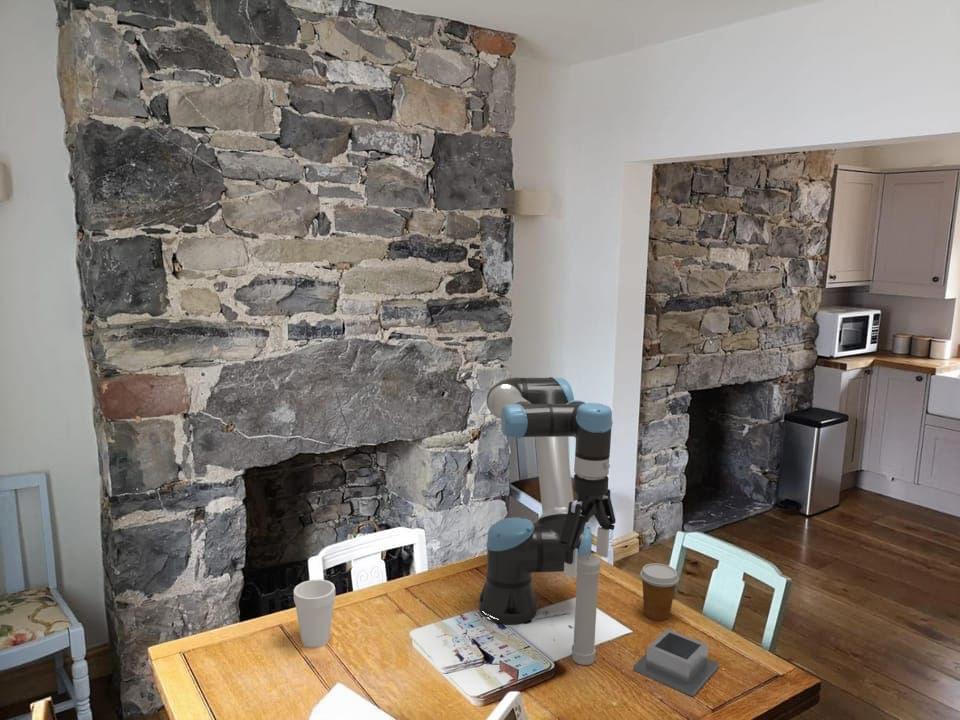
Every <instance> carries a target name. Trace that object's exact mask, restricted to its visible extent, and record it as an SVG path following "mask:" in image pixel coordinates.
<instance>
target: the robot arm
mask: <svg viewBox="0 0 960 720" xmlns="http://www.w3.org/2000/svg"><path fill="white" fill-rule="evenodd" d="M574 397H575V396H574V393H573V389H572V386H571V385H570V383H569V381H567V380H566V379H565V378H563V377H555V376H549V377H509V378H507V379H503V380H501V381H499V382H498V383H496V384H494V385H493V386H492V387H491V388H490V389H489V391H488V394H487V396H486V406H487V409H488V410H489V412H490V413H491V414H492V415H493V416H494V417H495V418H498V419H500V425H501V426H500V428H501V431H502V434H503V436H505V437H507V438H516V439H517V438H518V439H520V438H534V440H535V451H536V458H537V471H538V481H539V493H540V502H541V511H542V513H541V515H540V516H539V517H538V518H537V525H534V523H533V521H532V520H530V519H528V518H522V517H507V518H503V519H499V520H498V521H496V522H494V523H493V524H492V525H491V526H490V527H489V529H488V530H487V531H488V532H487V540H486V549H487V550H486V575H485V576H486V579H485V582H484V585H483V588H482V589H481V593H480V595H479V598H478V611H479V613H480V615H482V617H484V618H485V619H487V618H486V617H489V616H487V615H485V614H484V613H483V612H482V611H484V612H485V613H487V614H489V615H491V616H493V617H495V618H498V619H499V620H497V619H493V618H491V617H489V618H490V619H491V620H492V621H491V620H490V621H491V622H493V621H494V622H493V623H498V624H502V625H503V624H504V625H518V624H523V623H525V622H529V621H531V620H532V619H533V618H534V617H536V615H537V613H538V600H537V597H536V594H535V590H534V586H533V583H532V577H533V575H532V574H533V573H559V572H561V573H562V572H563V575H564V576H565V577H566V576H567V577H569V578H572V579H577V558H578V557H579V556H583V555H588V554H589V555H590V556H592V554H591V553H592V546H593V545H592V543H593V542H592V541H593V538H592V535H593V534H592V530H591V527H590V525H589V524H587V523H589V521H590V520H591V518H592V517H593V516H594V517H595V519H596V520H597V521H596V522H597V523H598V525H599V526H598V527H597V530H596V531H597V533H596V534H597V536H596V548H595V549H596V550H595V555H597V556H599V557H603V558H606V559H607V558H608V557H609V545H610V544H609V543H610V531H611V530H612V531H613V530H615V524H616V520H617V519H616V515H615V512H614V507H613V504H612V499H611V489H609V476H608V475H609V472H610V471H609V470H610V468H611V464H610V457H611V442H612V441H611V440H612V427H613V411H612V408H611V407H610V406H609V405H606V404H603V403H598V402H596V403H595V402H585V401H583V400H578V399H575V398H574ZM567 437H570V438H571V437H573V438H575V446H574V447H575V451H574V465H573V472H574V475H573V482H572V477H571V475H572V474H571V468H570V467H571V465H570V457H569V450H568V442H567ZM572 484H573V485H572ZM574 492H575V493H576V494H577V500H576V502H575V500H574ZM579 538H580V539H581V540H582V541H583V542H584V544H585V545H586V547H587V550H588V554H587V550H586V547H585V545H584V544H583V542H582V541H581V540H580V539H579Z"/></svg>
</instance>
